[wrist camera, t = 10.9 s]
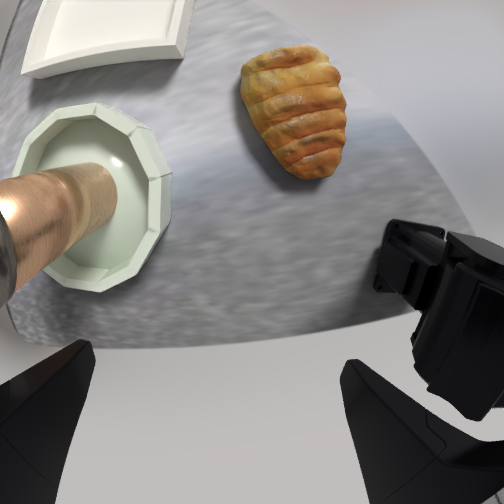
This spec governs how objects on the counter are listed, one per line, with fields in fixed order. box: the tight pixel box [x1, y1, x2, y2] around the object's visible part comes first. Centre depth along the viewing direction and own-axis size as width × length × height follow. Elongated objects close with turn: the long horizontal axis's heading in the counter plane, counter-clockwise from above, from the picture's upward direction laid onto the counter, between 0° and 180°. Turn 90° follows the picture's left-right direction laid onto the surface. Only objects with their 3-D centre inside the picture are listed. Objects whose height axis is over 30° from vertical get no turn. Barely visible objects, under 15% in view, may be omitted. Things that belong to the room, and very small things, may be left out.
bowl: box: [12, 103, 172, 292], centre depth 17 cm, size 13×13×3 cm
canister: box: [0, 162, 118, 308], centre depth 12 cm, size 5×5×12 cm
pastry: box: [240, 46, 346, 180], centre depth 16 cm, size 9×7×4 cm
